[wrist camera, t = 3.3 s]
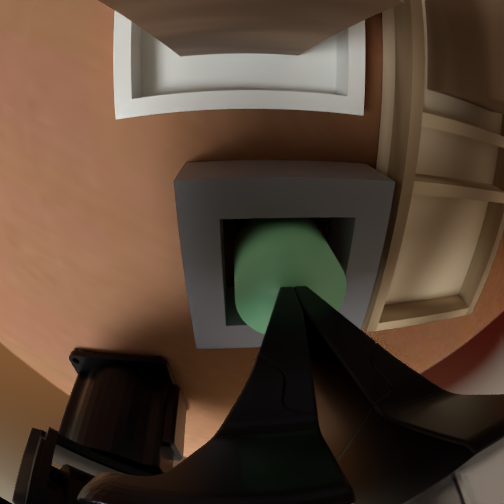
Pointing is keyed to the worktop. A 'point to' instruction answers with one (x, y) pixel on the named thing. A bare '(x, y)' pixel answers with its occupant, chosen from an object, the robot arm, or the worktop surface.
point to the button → (282, 266)
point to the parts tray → (236, 76)
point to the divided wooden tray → (433, 187)
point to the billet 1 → (246, 23)
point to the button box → (276, 206)
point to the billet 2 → (466, 51)
